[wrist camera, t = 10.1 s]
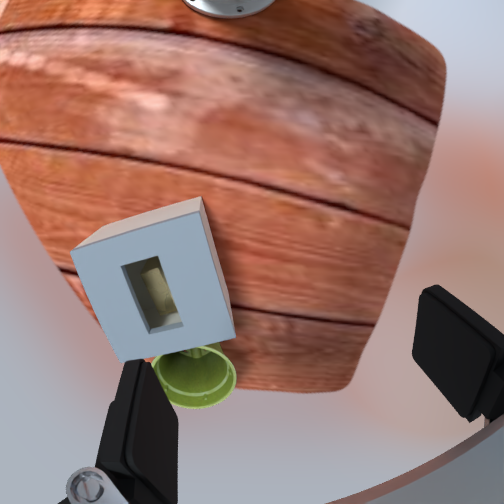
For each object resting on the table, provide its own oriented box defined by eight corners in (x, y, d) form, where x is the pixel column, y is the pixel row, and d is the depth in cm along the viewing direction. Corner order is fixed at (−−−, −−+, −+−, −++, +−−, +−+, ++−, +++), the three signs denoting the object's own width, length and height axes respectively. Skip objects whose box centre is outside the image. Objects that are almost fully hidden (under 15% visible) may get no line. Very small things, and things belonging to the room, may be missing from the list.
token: (148, 257, 34) (139, 273, 29) (164, 252, 34) (157, 267, 29) (165, 295, 36) (160, 315, 31) (180, 290, 36) (177, 310, 31)
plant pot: (182, 291, 37) (177, 329, 29) (244, 329, 40) (254, 370, 31) (145, 343, 38) (134, 385, 30) (204, 374, 41) (205, 419, 33)
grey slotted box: (103, 225, 33) (69, 251, 24) (201, 196, 34) (198, 212, 24) (137, 315, 37) (120, 363, 27) (228, 292, 38) (236, 337, 28)
